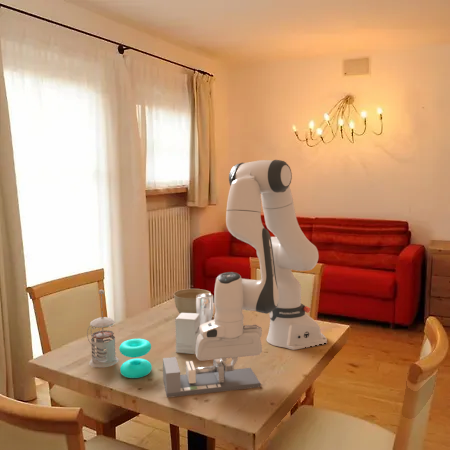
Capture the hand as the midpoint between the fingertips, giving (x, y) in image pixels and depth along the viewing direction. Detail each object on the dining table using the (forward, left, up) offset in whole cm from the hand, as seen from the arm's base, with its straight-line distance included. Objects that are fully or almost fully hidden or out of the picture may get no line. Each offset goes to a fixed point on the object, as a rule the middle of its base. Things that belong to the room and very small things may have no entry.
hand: (228, 370), depth 144 cm
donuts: (+28, -13, -4) cm, 31 cm away
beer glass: (-1, -44, -4) cm, 44 cm away
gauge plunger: (+6, 0, -2) cm, 7 cm away
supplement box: (+8, -28, -4) cm, 30 cm away
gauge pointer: (+12, 0, -1) cm, 12 cm away
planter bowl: (+1, -63, -4) cm, 63 cm away
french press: (+39, -25, -4) cm, 46 cm away
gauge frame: (+5, 0, -4) cm, 7 cm away
